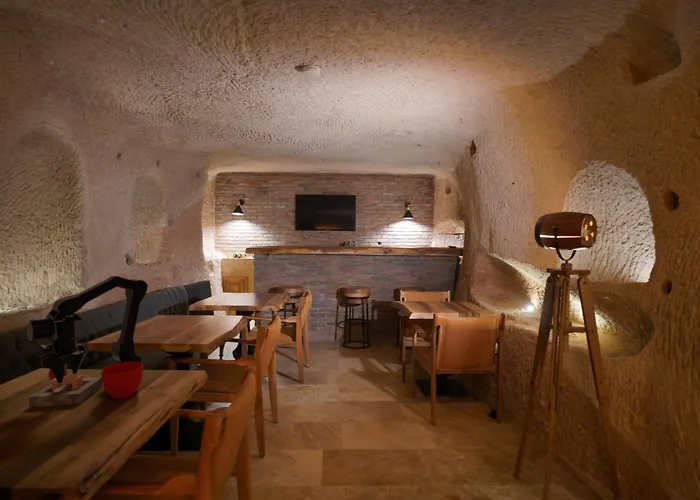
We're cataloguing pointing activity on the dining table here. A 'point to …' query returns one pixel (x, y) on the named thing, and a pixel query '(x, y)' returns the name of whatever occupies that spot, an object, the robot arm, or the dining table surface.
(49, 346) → the robot arm
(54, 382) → the orange arch block
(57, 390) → the hook rod
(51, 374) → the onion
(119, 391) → the red bowl
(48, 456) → the dining table surface
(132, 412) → the dining table surface
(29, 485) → the dining table surface
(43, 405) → the grey flat frame
